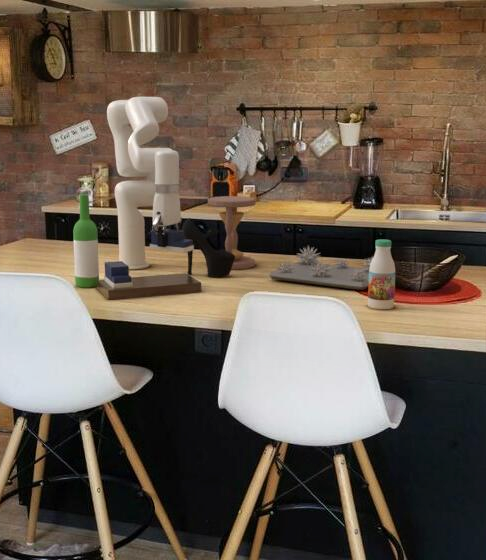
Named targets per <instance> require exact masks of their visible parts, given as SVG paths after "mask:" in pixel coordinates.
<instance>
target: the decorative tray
mask: <svg viewBox="0 0 486 560" xmlns="http://www.w3.org/2000/svg"><path fill="white" fill-rule="evenodd" d="M314 248H315V246H313V247H310V246H307V247H303V249H299V251H300V252H301V253H300V252H299V253H296V255H295V257H296V258H299V259H298V260H297V261H296V262H294V263H289V262H287V261H286V260H285V261H284V262H281V263H279V266H277V267H276V268H275V270H272V271H271V272H270V273H268V276H269V277H270V279H271V280H278V281H285V282H286V281H287V282H293V283H294V282H295V283H302V284H310V285H311V284H312V285H319V286H327V287H335V288H343V289H350V290H358V291H363V290H366V289H368V283H369V268H370V264H371V261H372V259H373V257H367V258H364V260H365V262H362V264H361V266H362V267H356V266H349V264H350V263H349V261H347V259H345V258H343V257H342V258H340V259H336V261H334V264H329V262H327V263H326V261H322V260H321V259H317V258H320V257H321V255H320V254H321V252H318V253H316V252H317V251H318V248H315V249H314Z"/></svg>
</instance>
